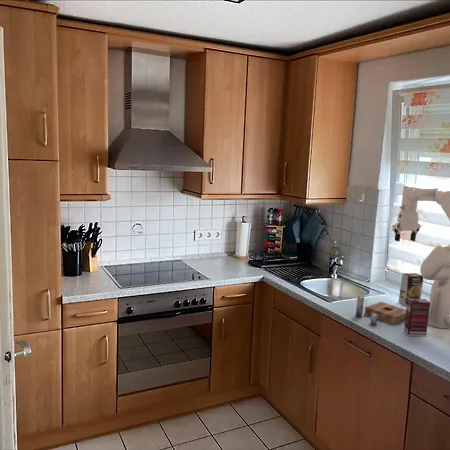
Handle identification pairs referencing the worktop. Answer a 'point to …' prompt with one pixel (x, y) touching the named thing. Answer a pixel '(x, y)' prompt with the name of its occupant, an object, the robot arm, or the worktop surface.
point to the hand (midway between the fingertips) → (404, 240)
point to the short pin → (374, 319)
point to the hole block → (386, 312)
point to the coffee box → (410, 287)
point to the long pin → (359, 306)
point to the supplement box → (416, 317)
